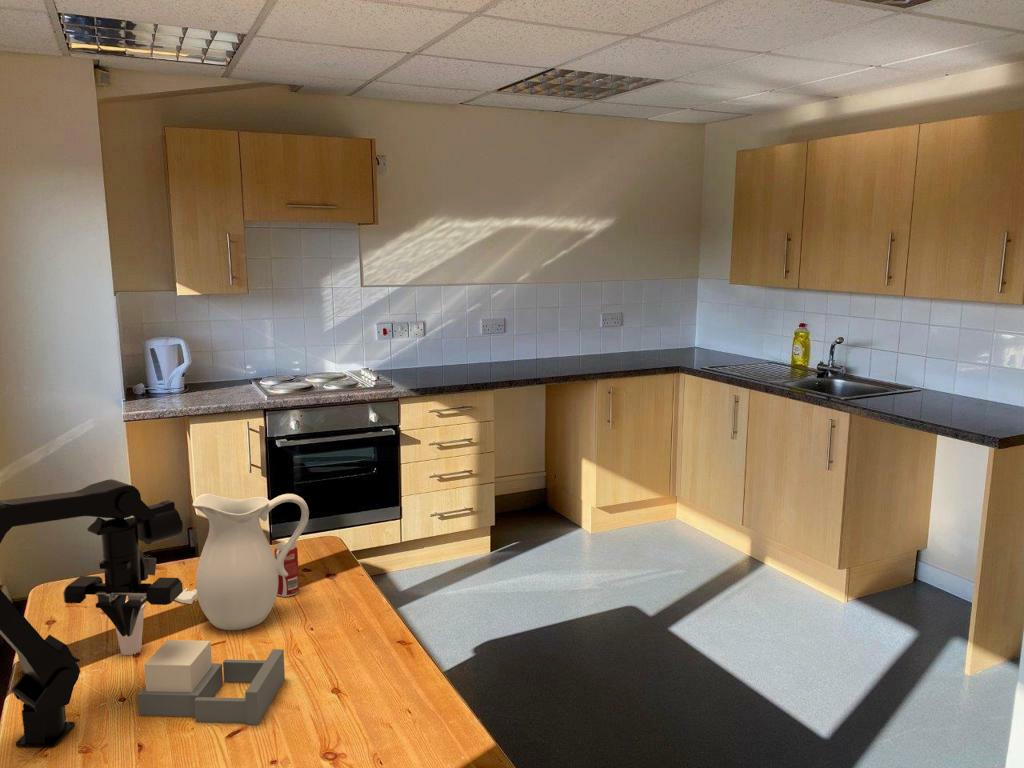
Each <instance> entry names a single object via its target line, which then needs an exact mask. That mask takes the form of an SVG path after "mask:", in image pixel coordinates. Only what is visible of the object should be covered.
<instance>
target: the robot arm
mask: <svg viewBox="0 0 1024 768" xmlns="http://www.w3.org/2000/svg"><path fill="white" fill-rule="evenodd" d="M141 497H142V495H141V493H140V491H139V489H138V488H137V487H135V485H130V484H128V483H125V482H122V481H119V480H116V479H106V480H102V481H99V482H95V483H92V484H88V485H87V486H85V487H83V488H82V489H79V490H75V491H68V492H61V493H60V492H59V493H52V494H51V493H50V494H44V495H37V496H26V497H18V498H11V499H4V500H3V499H2V500H1V499H0V544H1V543H2V541H3V539H4V538H5V536H6V535H7V533H8V532H10V530H11V529H12V528H13V527H20V526H21V527H22V526H29V525H33V524H34V525H35V524H40V523H47V522H53V521H54V522H55V521H61V520H69V519H75V518H80V517H92V518H93V517H95V518H96V519H95V521H94V522H93V523H91V524H90V525H89V526H88V528H87V532H90V533H92V534H94V535H96V536H101V544H102V561H101V562H99V563H98V564H99V570H103V572H104V573H103V574H104V583H103V578H101V576H95V575H93V576H92V575H81V576H79V577H78V578H76V579H75V580H73V581H72V582H71V583H69V584H68V585H66V587H64V590H63V602H64V603H65V604H82V602H84V600H85V599H87V595H91V596H92V595H95V596H96V598H97V602H96V603H95V608H96V609H101V611H102V612H103V613H104V614H105V615H106V617H108V619H109V620H110V621H111V622H112V624H113V625H114V627H116V628H117V630H118V631H119V632H120V634H121V635H122V636H126V635H127V636H128V637H130V636H131V635H132V633H133V630H134V627H135V623H136V620H137V617H138V614H139V611H140V609H141V607H142V605H143V604H144V603H145V604H146V603H149V604H150V605H151V606H153V605H155V606H168V605H171V604H172V603H173V601H176V600H175V599H176V598H177V597H178V596H179V595H180V594H181V593H182V592H183V590H184V589H183V588H184V587H183V586H184V585H183V581H182V580H181V579H180V578H179V577H158V578H157V579H156V580H155V581H154V582H153V583H150V582H149V583H147V582H146V583H144V582H142V581H146V580H148V579H149V576H155V575H156V569H157V560H158V559H157V558H156V557H145V554H144V552H143V551H140V547H139V541H142V543H144V544H146V545H153V544H156V543H159V542H162V541H165V540H169V539H172V538H176V537H179V536H181V534H182V533H183V527H184V526H183V525H184V523H183V520H182V518H181V515H180V513H179V511H178V510H177V509H176V505H175V502H174V501H171V500H163V501H160V502H159V503H155V504H152V505H149V506H148V505H147V504H146V503H145V502H144V501H143V500H142V498H141ZM126 600H128V601H127V602H126V603H125V601H126ZM116 628H115V629H116ZM0 635H1V637H2V638H3V639H4V640H5V641H6V642H7V643H8V644H9V646H11V648H12V649H13V650H14V651H15V652H16V655H17V656H18V661H19V665H20V666H21V668H22V670H23V674H22V675H21V676H20V678H19V679H18V680H17V682H16V683H15V685H14V686H13V687H12V688H11V692H12V694H13V695H14V697H15V698H16V699H17V700H19V701H20V702H21V703H23V704H22V711H21V717H22V726H23V735H22V736H21V737H20V738H19V739H17V741H15V746H16V747H28V748H29V747H34V748H36V747H38V748H53V747H56V746H57V745H58V743H59V742H61V741H62V740H63V738H64V737H65V736H66V735H68V733H70V731H71V730H72V729H73V728H74V727H75V726H76V722H75V721H66V720H67V714H66V706H67V705H69V704H70V702H71V699H72V695H73V691H74V688H75V685H76V683H77V681H78V680H79V677H80V674H81V668H80V665H78V663H79V662H80V661H81V659H79V658H78V657H76V656H74V654H73V653H72V651H71V650H70V648H69V647H68V645H67V644H66V643H64V642H62V640H59V639H58V638H56V637H55V636H53V635H51V634H49V635H48V636H46V637H45V638H43V637H42V636H41V634H40V633H39V632H38V630H36V629H35V627H34V626H33V625H32V624H31V623H30V621H29V620H27V618H26V617H25V616H24V615H23V614H22V613H21V611H20V610H19V609H18V608H17V607H16V606H15V604H14V603H13V602H12V601H11V600H10V599H9V597H7V596H6V594H5V593H4V592H3V591H2V589H0Z"/></svg>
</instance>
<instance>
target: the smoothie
mask: <svg viewBox="0 0 1024 768" xmlns="http://www.w3.org/2000/svg"><path fill="white" fill-rule="evenodd" d="M127 601H128V599H126V601H125V603H126V602H127ZM146 608H147V607H146V602H145V603H144V604H143V605H142V607H141V609H140V611H139V614H138V617H137V620H136V623H135V627H134V630H133V633H132V635H131V636H130V637H128V636H127V635H126V636H122V635H121V634H120V632H119V631H118V630H117V628H116V627H115V626H114V627H115V633H116V637H117V641H118V646H119V651H120V654H121V653H122V654H124V655H123V656H125V655H129V656H134V655H136V653H137V654H139V653H140V652H141V651H142V645H143V644H142V643H143V631H144V630H143V629H144V618H145V616H144V615H145V614H144V613H145V611H146ZM138 652H139V653H138ZM122 654H121V655H122ZM133 654H134V655H133Z"/></svg>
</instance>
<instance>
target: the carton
mask: <svg viewBox="0 0 1024 768" xmlns="http://www.w3.org/2000/svg"><path fill="white" fill-rule="evenodd" d="M211 647H212V645H211V640H198V639H197V640H196V639H195V640H193V639H192V640H189V639H184V640H183V639H167V640H166V641H164V643H162V645H161V646H160V647H159V648H158V649H157V650H156V651H155V653H154V654H152V656H151V657H150V658H148V660H147V661H146V662H145V663H144V679H145V680H144V681H145V685H146V691H156V692H192V691H193V690H194V689H195V687H196V686H197V685H198V683H199V682H200V681H201V680H202V678H203V677H204V676H205V674H206V673H207V672H208V670H209V669H210V668H211V667H212V663H213V662H212V661H213V660H212V648H211Z"/></svg>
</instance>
